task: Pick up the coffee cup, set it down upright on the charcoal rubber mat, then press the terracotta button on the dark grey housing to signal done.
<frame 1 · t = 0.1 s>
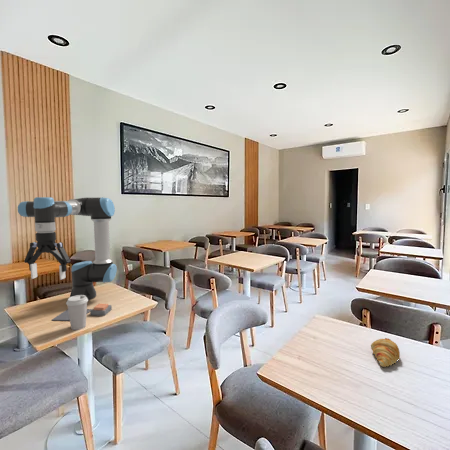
hand: (48, 278, 120), 28 cm above the table, tool pointing down, fingers open, 13 cm apart
done button: (101, 307, 149), point 3 cm above the table, slide at 0.0 cm
croissant: (384, 356, 109), on the table
coffee cup: (78, 327, 132), on the table
button housing: (101, 312, 149), on the table
mat: (72, 315, 146), on the table
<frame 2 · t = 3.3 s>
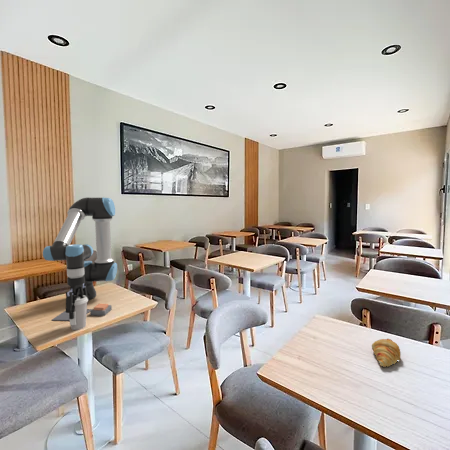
hand: (78, 320, 132), 3 cm above the table, tool pointing down, fingers closed on coffee cup, 8 cm apart
coffee cup: (78, 327, 132), on the table, touching gripper
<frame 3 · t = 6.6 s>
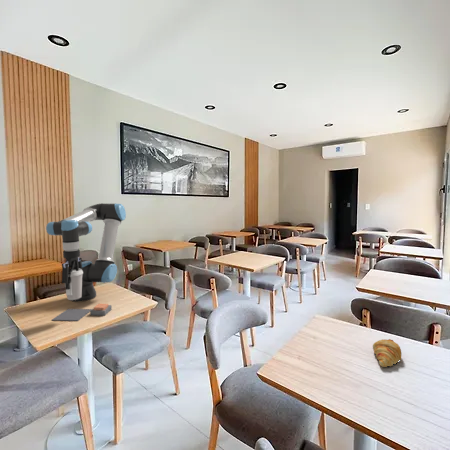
hand: (74, 291, 140), 15 cm above the table, tool pointing down, fingers closed on coffee cup, 8 cm apart
coffee cup: (74, 298, 140), point 11 cm above the table, touching gripper
when the fingers open (4 cm above the table, at t = 9.9 s): coffee cup stays where it is, resting on mat.
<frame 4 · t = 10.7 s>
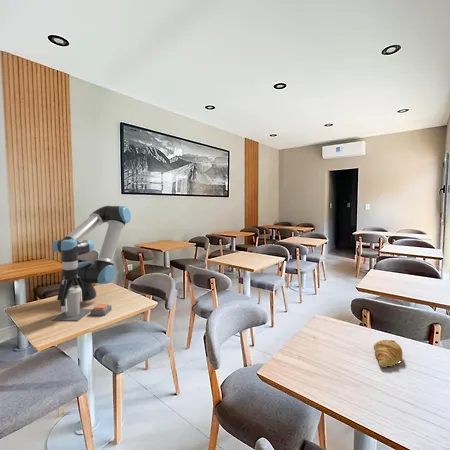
hand: (72, 306, 145), 5 cm above the table, tool pointing down, fingers open, 13 cm apart
coffee cup: (72, 314, 146), resting on mat
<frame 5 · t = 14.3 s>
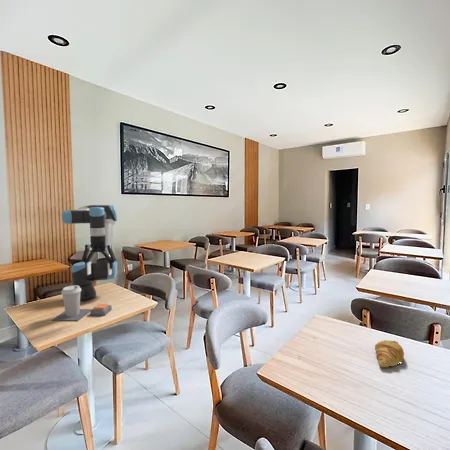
hand: (99, 274, 147), 22 cm above the table, tool pointing down, fingers open, 11 cm apart
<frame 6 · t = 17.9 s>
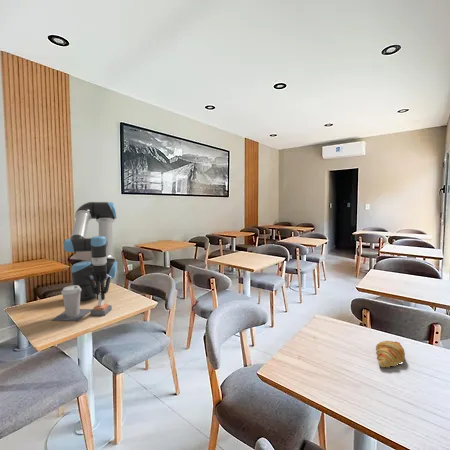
hand: (101, 305, 149), 4 cm above the table, tool pointing down, fingers closed
done button: (101, 307, 149), point 3 cm above the table, slide at 0.0 cm, touching gripper
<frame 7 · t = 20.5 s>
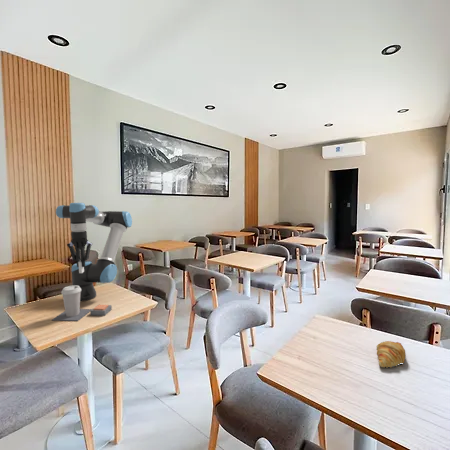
hand: (81, 272, 148), 23 cm above the table, tool pointing down, fingers closed
done button: (101, 308, 149), point 2 cm above the table, slide at 0.6 cm
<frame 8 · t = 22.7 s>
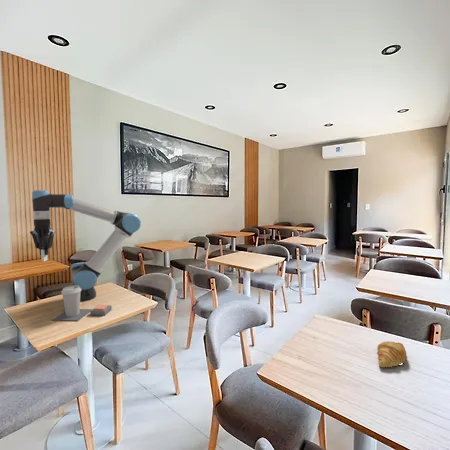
hand: (44, 260, 147), 29 cm above the table, tool pointing down, fingers closed
at the end: coffee cup inside the target area on the mat (0.0 cm from its centre), point 0.3 cm above the mat's base; coffee cup tilted 0°; done button slide at 0.6 cm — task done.
